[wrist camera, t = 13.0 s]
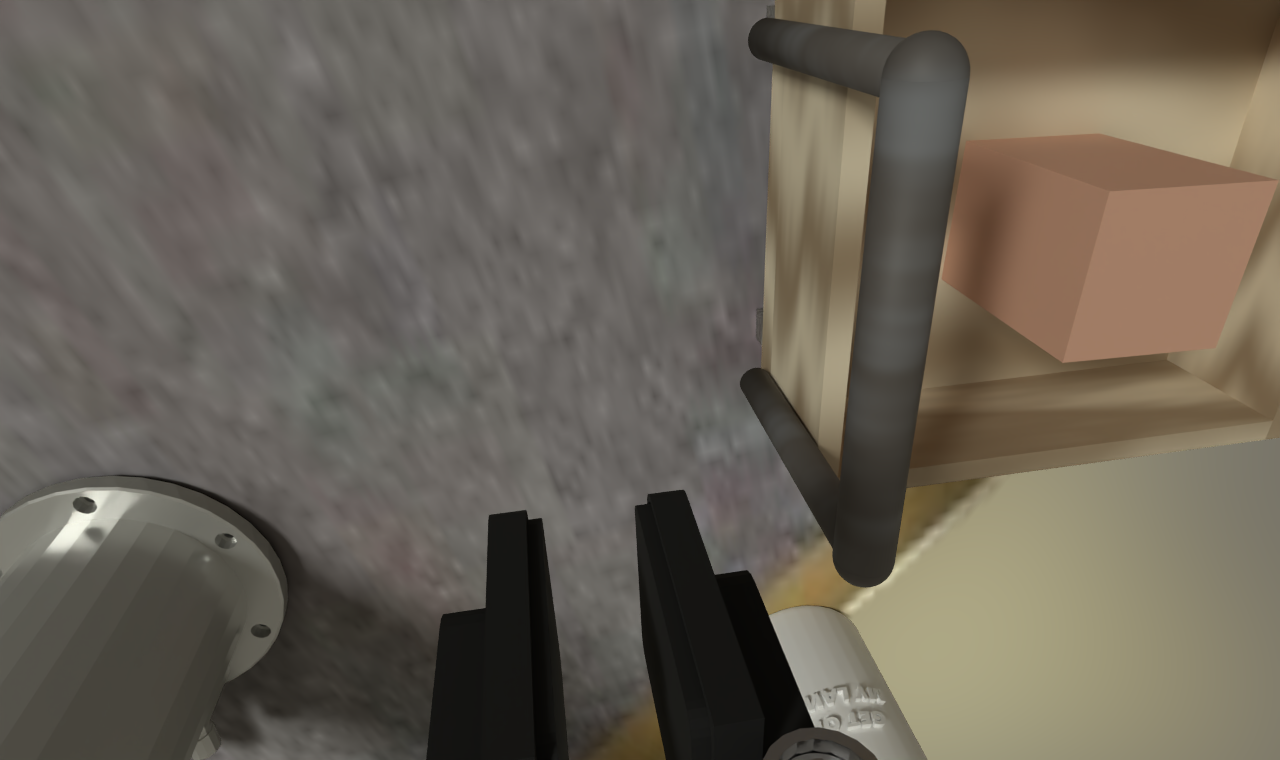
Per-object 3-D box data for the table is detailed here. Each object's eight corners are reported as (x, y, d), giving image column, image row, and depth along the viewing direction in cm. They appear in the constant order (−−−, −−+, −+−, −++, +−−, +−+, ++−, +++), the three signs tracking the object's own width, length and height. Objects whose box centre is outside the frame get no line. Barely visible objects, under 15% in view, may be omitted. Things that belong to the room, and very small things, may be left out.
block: (941, 279, 28) (1062, 363, 22) (966, 140, 26) (1110, 191, 20) (1064, 269, 29) (1215, 348, 23) (1099, 133, 26) (1279, 180, 20)
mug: (645, 651, 42) (691, 873, 32) (847, 583, 42) (959, 783, 32) (682, 738, 46) (734, 960, 36) (866, 676, 46) (972, 880, 36)
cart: (1110, 334, 36) (1458, 539, 23) (709, 380, 33) (839, 637, 20) (1220, -57, 28) (1841, -88, 15) (710, -33, 26) (919, -43, 13)
